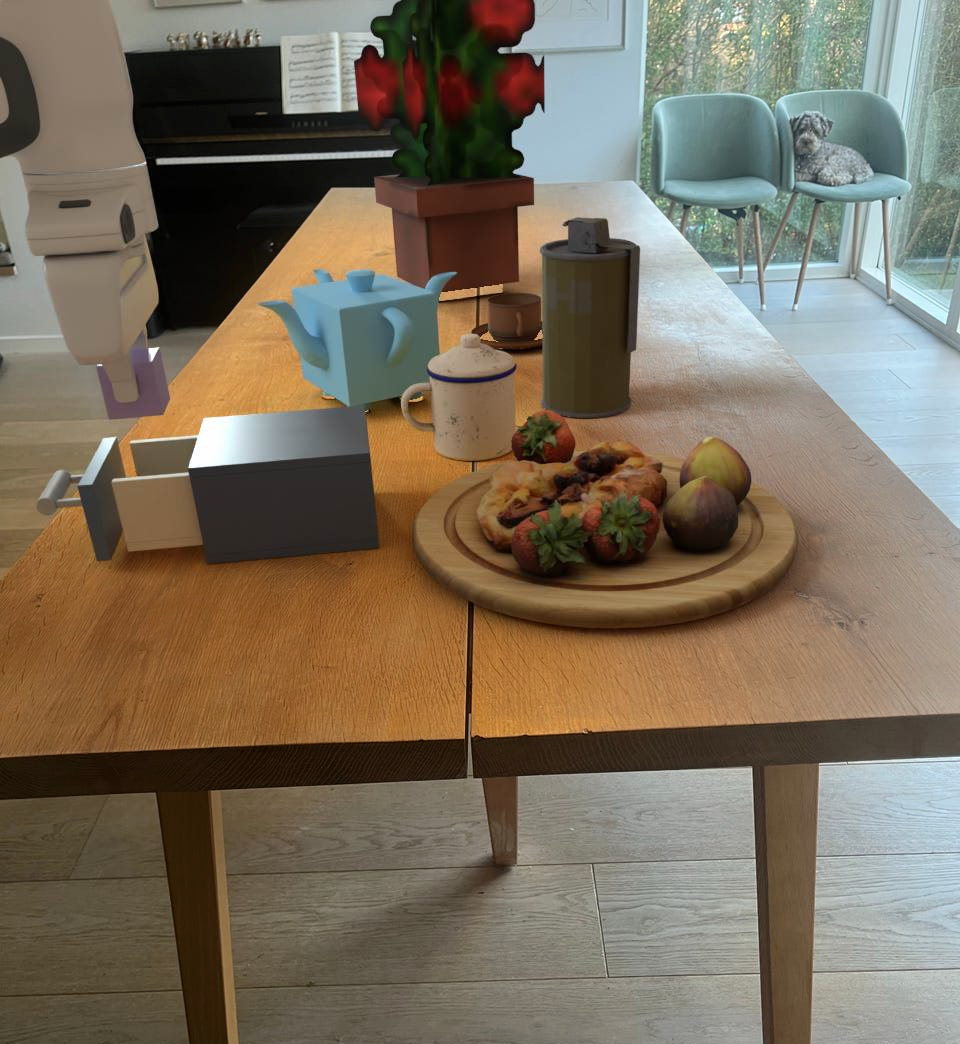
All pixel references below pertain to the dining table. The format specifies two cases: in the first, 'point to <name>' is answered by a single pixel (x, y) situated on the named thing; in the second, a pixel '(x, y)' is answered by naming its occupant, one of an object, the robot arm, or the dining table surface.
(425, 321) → the teakettle
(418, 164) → the potted plant
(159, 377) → the purple block
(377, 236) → the dining table surface
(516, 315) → the cup and saucer
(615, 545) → the wooden plate
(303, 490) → the grey drawer box
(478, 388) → the teacup with lid
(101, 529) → the drawer
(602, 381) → the canister
